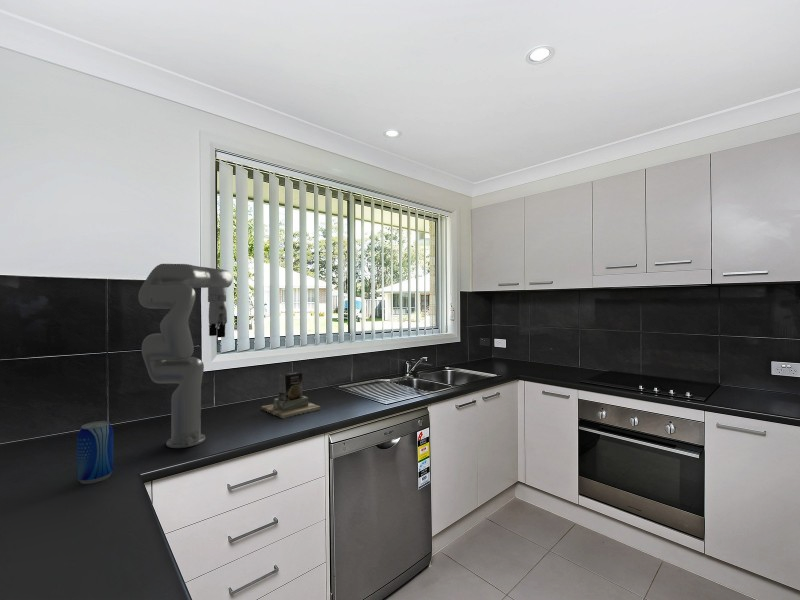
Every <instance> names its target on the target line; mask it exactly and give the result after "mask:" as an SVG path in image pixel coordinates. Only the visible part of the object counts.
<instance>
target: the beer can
mask: <svg viewBox="0 0 800 600" xmlns="http://www.w3.org/2000/svg"><path fill="white" fill-rule="evenodd" d="M110 423H111V422H110V421H108V420H99V421H91V422H88V423H84V424H83V425H81V426H80V430H79V431H78V433H77V435H76V479H77V480H78V481H79V483H80V484H82V485H90V484H96V483H98V482H102V481H104V480H107V479H108V478H110V477H111V474H112V473H113V472H114V428H113V427H112V425H111V424H110Z"/></svg>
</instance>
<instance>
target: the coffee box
mask: <svg viewBox="0 0 800 600" xmlns="http://www.w3.org/2000/svg"><path fill="white" fill-rule="evenodd" d="M278 381H279V382H278V383H279V385H278V386H279V388H278V389H279V392H278V398H279V400H282V401H284V402H286V401H291V400H296V399H301V398H302V396H303V372H298V371H291V372H285V373H279V380H278Z"/></svg>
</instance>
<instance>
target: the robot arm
mask: <svg viewBox="0 0 800 600" xmlns="http://www.w3.org/2000/svg"><path fill="white" fill-rule="evenodd" d="M232 283H233V275H232V273H231V272H230V270H227V269H222V268H212V267H206V266H198V265H192V264H190V263H189V264H187V263H159V264H158V265H156V266H155V267H154V268H152V270H151V272H149V274H148V276H146V279H145V281H144V282H143V283H142V285H141V286H140V289H139V292H138V296H137V298H138V303H139V304H140V305H141V306H142V307H144V308H146V309H151V310H152V309H153V310H158V309H159V310H160V309H161V310H162V309H163V310H165V309H166V310H168V309H170V310H169V311H168V313H167V314H165V316H163V319H161V321H160V323H159V330H160V333H158V332H157V333H151V334H149V335H147V336H145V338H144V339H143V341H142V343H141V355H142V359H143V361H144V364H145V367H146V369H147V373H148V376H149V378H150V379H151V381H152V382H153V383H155V384H179V385H178V386H177V387H176V389H174V391H173V392H172V395H171V401H170V402H171V414H170V415H171V417H170V419H171V422H170V423H171V426H170V427H171V431H170V432H171V433H170V434H171V436H170V437H171V438H169V439H168V440H166V441H165V442H166V446H167V447H168V448H171V449H184V448H189V447H193V446H194V447H195V446H197V445H200V444H202V443H203V442H204V441H205V440H206V435H205V434H203V433H201V429H202V427H201V426H202V424H201V420H202V419H201V418H202V417H201V416H202V414H201V413H202V403H201V402H202V399H201V398H202V394H201V393H202V381H203V375H204V370H205V366H204V362H203V361H202V360H201V359H200V358H198V357H195V356H192V355H193V354H194V349H195V347H194V346H195V345H194V342H193V339H192V334H191V330H190V329H191V328H190V326H189V320H190V315H191V313H192V310H193V308H194V305H195V301H196V290H195V289H194V288H198V289H199V288H200V289H202V288H203V289H205V288H206V289H207V302H208V303H209V304H208V306H209V307H208V324H209V325H208V328H209V329H208V332H209V333H208V336H209V337H214V336H216V337H217V338H225V337H226V324H227V323H228V316H227V315H228V313H227V312H228V311H227V309H228V308H227V288H229V287H231V285H232Z"/></svg>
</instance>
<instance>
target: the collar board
mask: <svg viewBox="0 0 800 600" xmlns="http://www.w3.org/2000/svg"><path fill="white" fill-rule="evenodd" d="M261 410H262V411H263V412H266V411H267V413H268V412H269V414H271V415H273V416H275V415H276V417H277V416H278V418H280V419H282V418H283V419H287V418H291V417H295V416H294V415H296V416H298V414H300V415H304V414H307V412H308V413H311V412H316V411H319V410H321V406H320V405H317V404H314V403H312V402H309V397H308V396H305V395H302V398H301V399H296V400H291V401H286V402H284V401H282V400H279V397H276V398H273V403H270V404H267V405H262V406H261ZM303 413H304V414H303ZM290 416H291V417H290ZM286 417H287V418H286Z"/></svg>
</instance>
